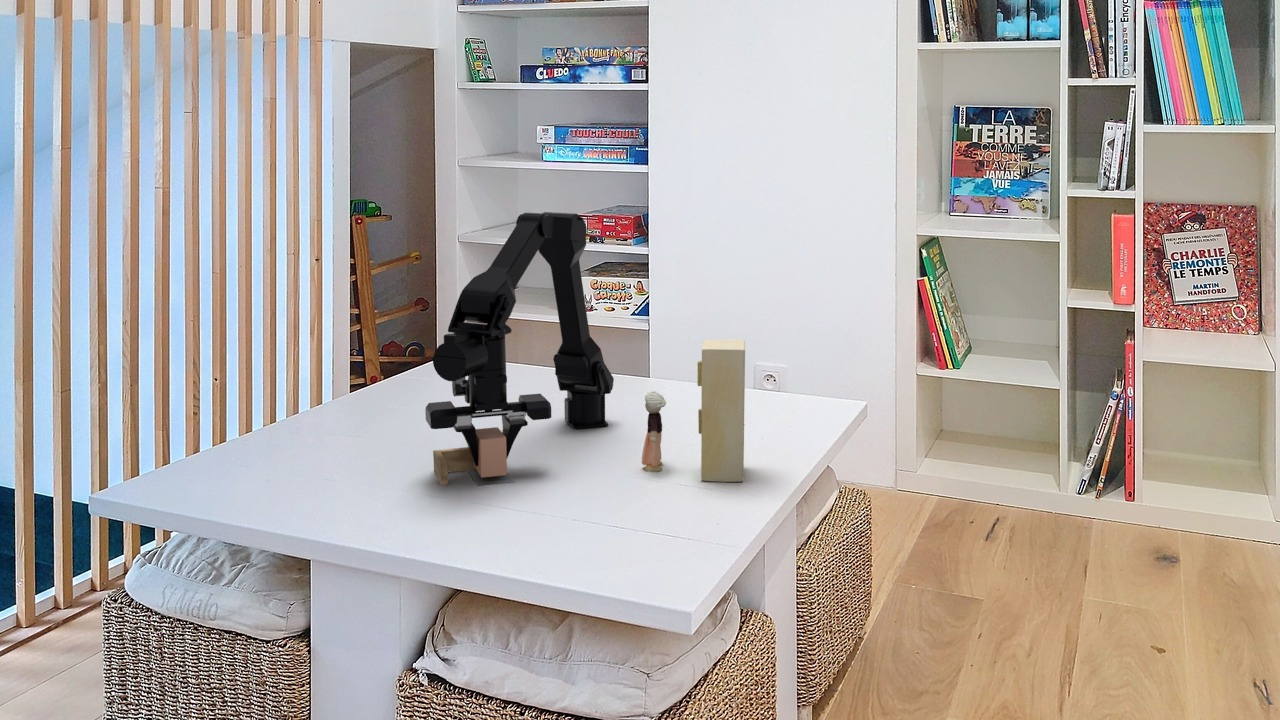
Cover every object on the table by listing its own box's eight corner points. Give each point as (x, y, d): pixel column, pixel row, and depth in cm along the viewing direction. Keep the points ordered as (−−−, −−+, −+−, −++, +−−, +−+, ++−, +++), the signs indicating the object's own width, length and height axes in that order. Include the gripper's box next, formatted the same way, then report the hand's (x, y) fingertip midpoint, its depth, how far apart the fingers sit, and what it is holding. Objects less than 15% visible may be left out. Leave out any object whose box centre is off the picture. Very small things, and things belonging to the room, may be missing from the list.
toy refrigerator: (697, 465, 189) (699, 338, 185) (743, 466, 189) (746, 338, 184) (695, 481, 182) (697, 349, 177) (743, 483, 181) (746, 349, 176)
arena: (505, 464, 190) (504, 443, 189) (517, 481, 182) (517, 459, 181) (433, 471, 186) (433, 450, 185) (443, 489, 178) (442, 467, 177)
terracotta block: (507, 474, 182) (506, 437, 180) (481, 477, 180) (480, 440, 179) (498, 463, 187) (497, 427, 186) (473, 465, 186) (472, 429, 185)
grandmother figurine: (639, 461, 192) (639, 385, 189) (662, 460, 192) (663, 385, 189) (643, 476, 184) (643, 398, 181) (668, 475, 184) (668, 397, 181)
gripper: (534, 351, 190) (535, 443, 194) (418, 359, 185) (422, 454, 188) (551, 366, 180) (553, 463, 184) (429, 376, 174) (433, 476, 178)
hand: (490, 463), depth 184 cm, fingers closed on terracotta block, 4 cm apart
